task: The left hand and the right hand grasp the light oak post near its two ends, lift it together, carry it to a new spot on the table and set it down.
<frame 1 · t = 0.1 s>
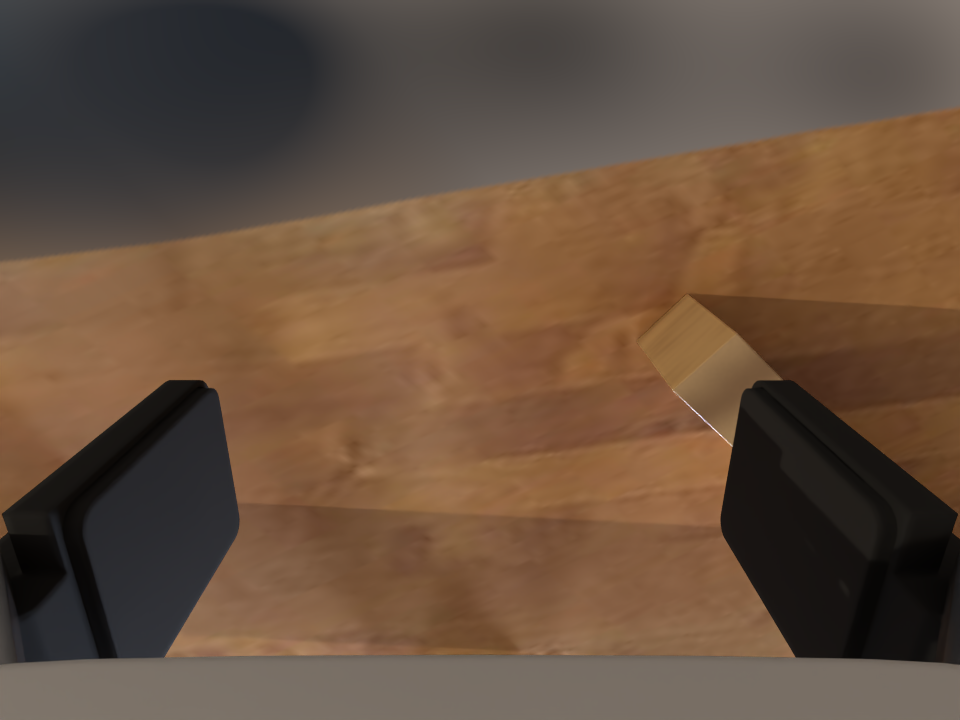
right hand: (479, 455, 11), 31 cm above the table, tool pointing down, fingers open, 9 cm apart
post: (902, 553, 50), on the table
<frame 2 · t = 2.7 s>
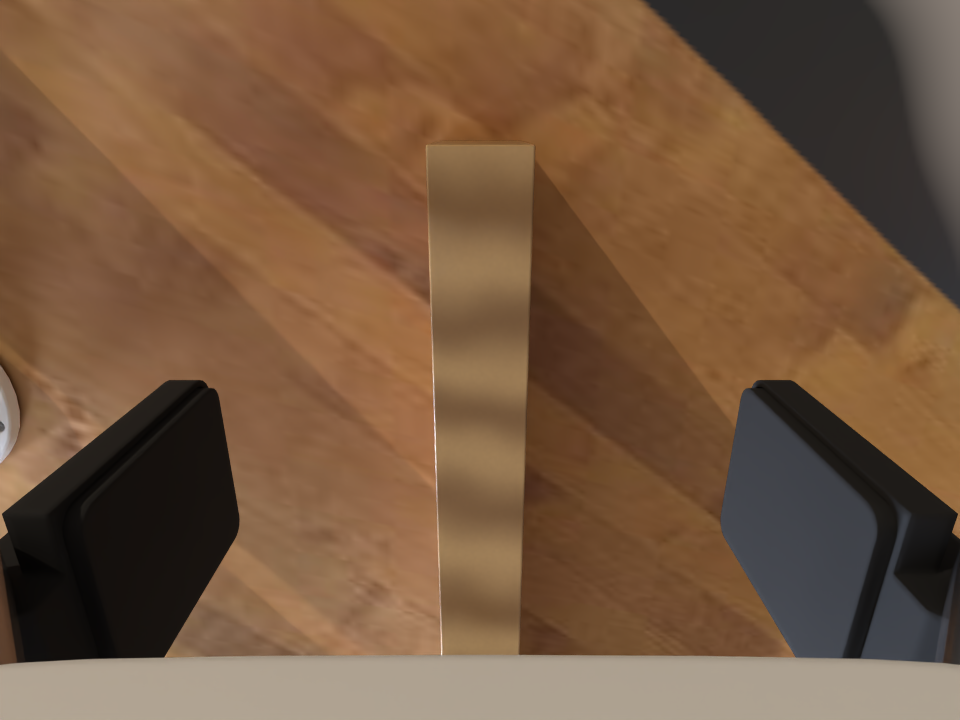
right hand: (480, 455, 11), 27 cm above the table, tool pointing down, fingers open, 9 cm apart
post: (480, 566, 45), on the table, touching left hand
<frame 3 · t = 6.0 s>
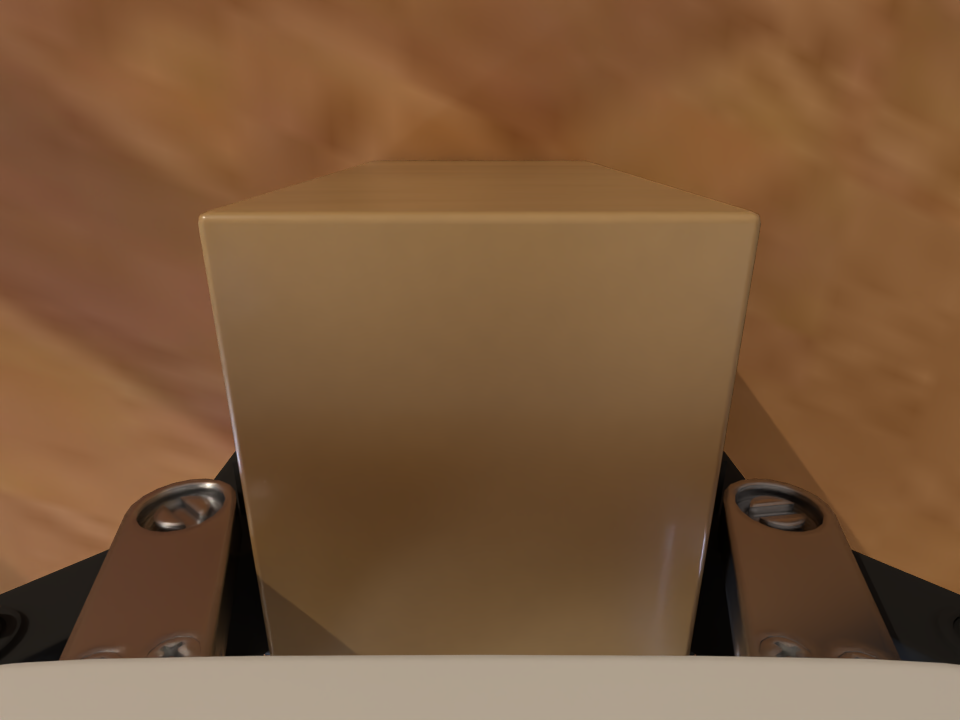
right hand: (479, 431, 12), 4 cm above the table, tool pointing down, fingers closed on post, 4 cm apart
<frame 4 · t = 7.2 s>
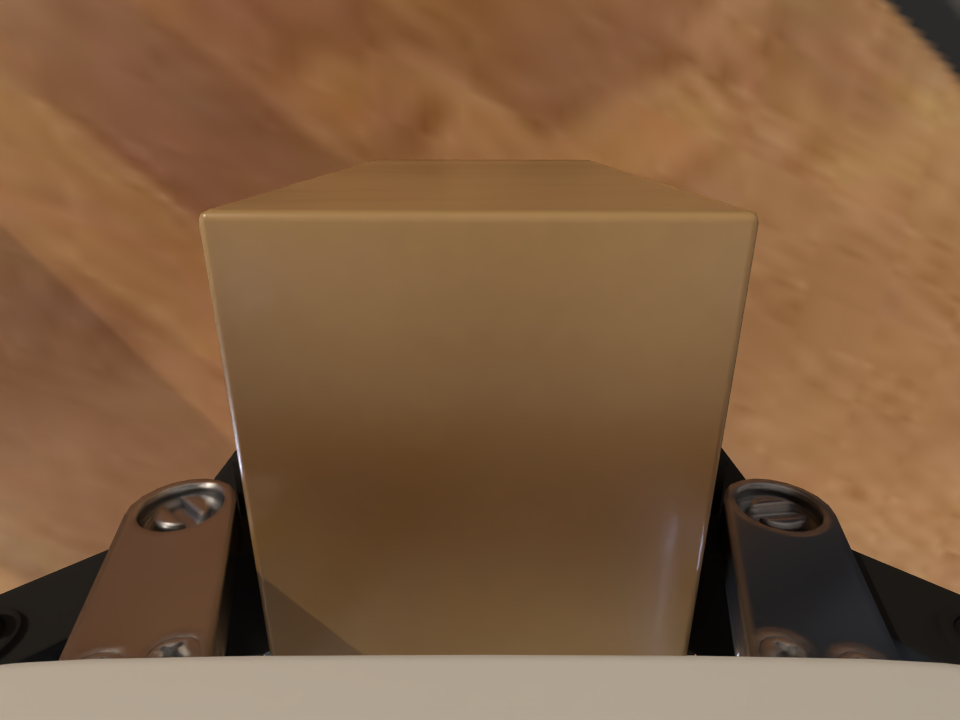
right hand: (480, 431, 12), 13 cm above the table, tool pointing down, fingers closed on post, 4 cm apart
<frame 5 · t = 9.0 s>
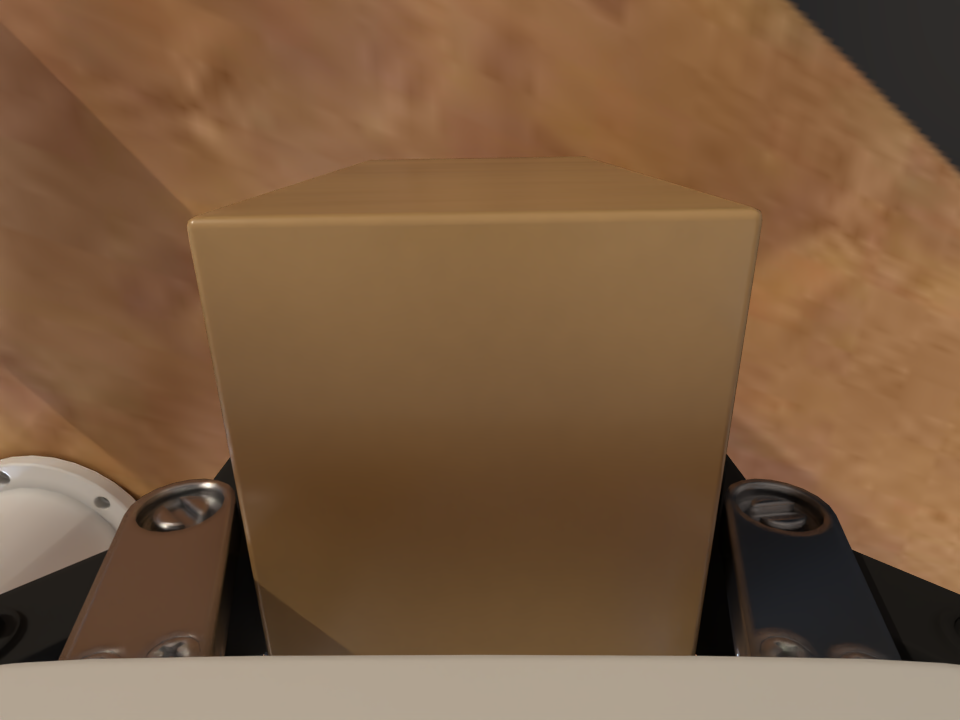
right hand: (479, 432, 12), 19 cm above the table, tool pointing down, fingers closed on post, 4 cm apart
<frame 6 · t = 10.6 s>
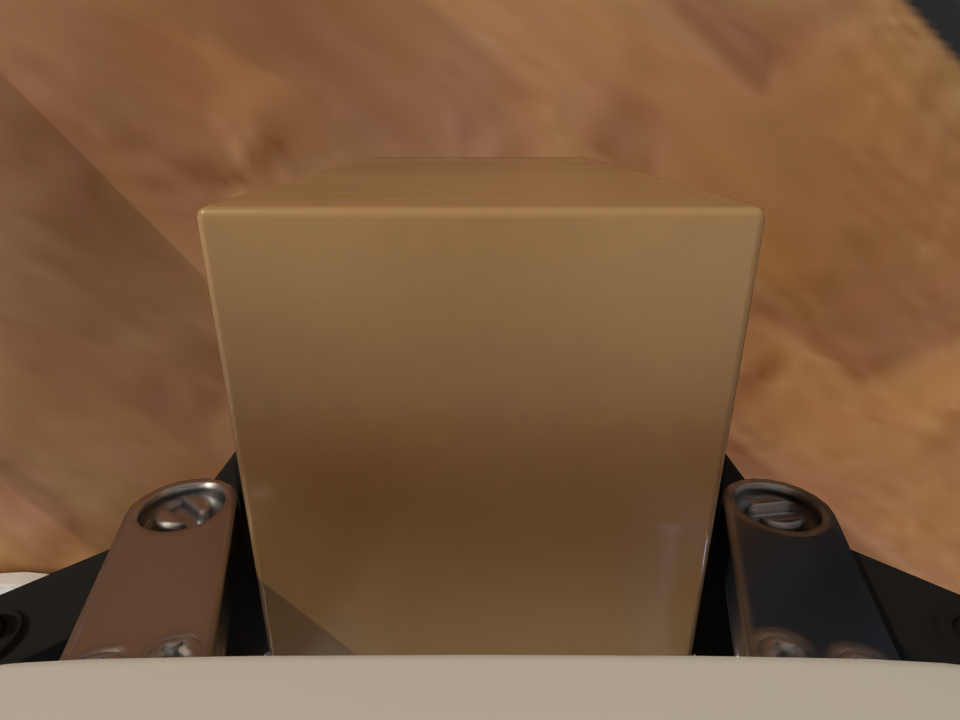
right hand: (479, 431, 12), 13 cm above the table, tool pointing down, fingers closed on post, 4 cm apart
when the right hand's fingers open (5 cm above the table, at t = 12.0 s): post drops 1 cm, on the table.
when the left hand's fingers open (5 cm above the table, at t = 12.1 s): post stays where it is, on the table.
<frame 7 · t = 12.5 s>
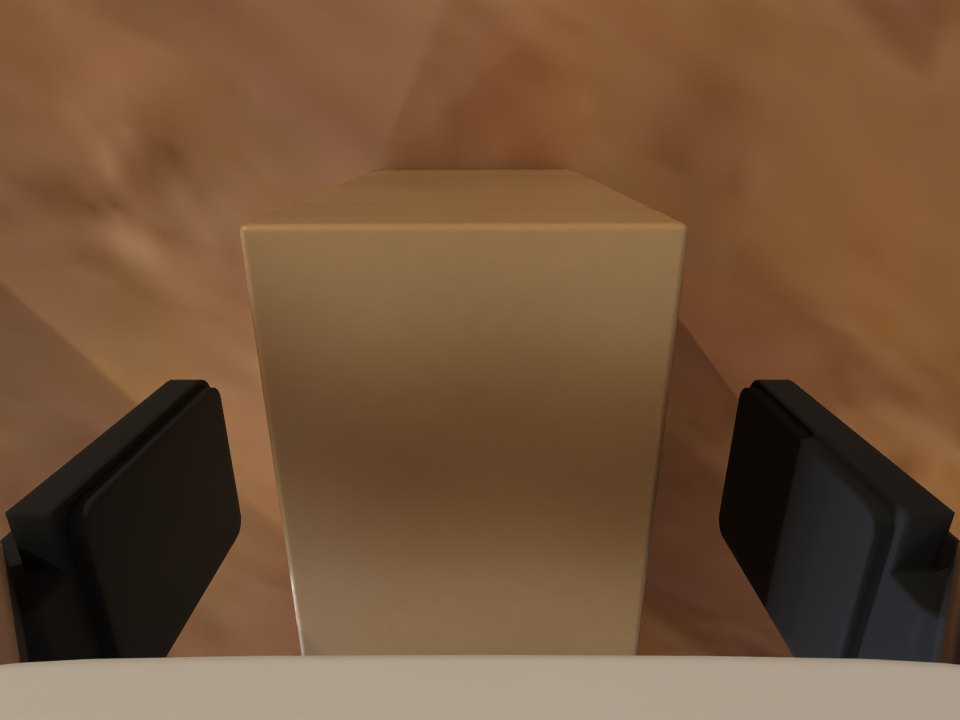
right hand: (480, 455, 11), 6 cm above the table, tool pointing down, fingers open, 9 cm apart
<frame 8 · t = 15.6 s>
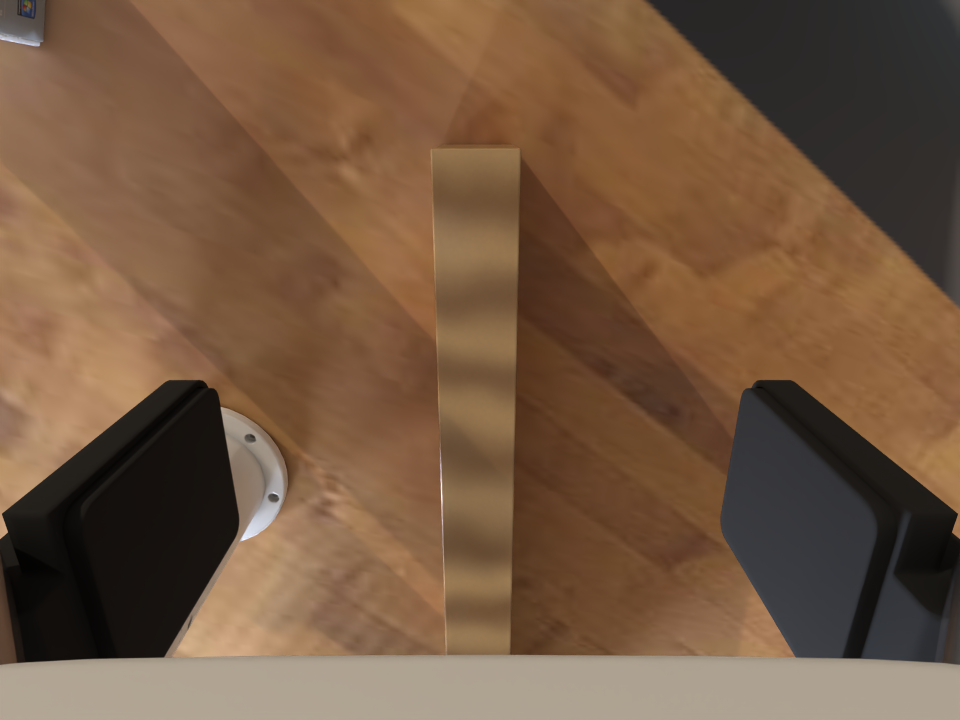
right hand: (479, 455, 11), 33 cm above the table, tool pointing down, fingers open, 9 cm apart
post: (478, 522, 51), on the table
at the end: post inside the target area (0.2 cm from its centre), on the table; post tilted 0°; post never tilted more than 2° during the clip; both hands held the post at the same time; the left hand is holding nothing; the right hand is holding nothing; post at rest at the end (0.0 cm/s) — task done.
